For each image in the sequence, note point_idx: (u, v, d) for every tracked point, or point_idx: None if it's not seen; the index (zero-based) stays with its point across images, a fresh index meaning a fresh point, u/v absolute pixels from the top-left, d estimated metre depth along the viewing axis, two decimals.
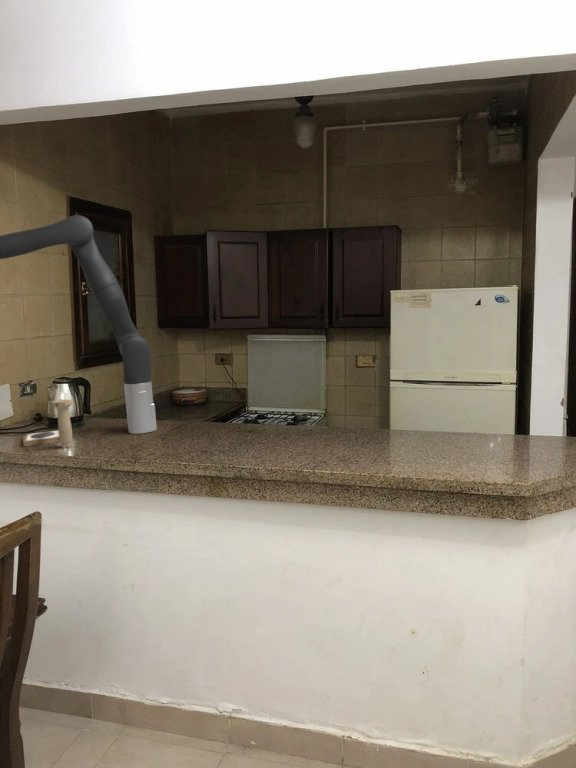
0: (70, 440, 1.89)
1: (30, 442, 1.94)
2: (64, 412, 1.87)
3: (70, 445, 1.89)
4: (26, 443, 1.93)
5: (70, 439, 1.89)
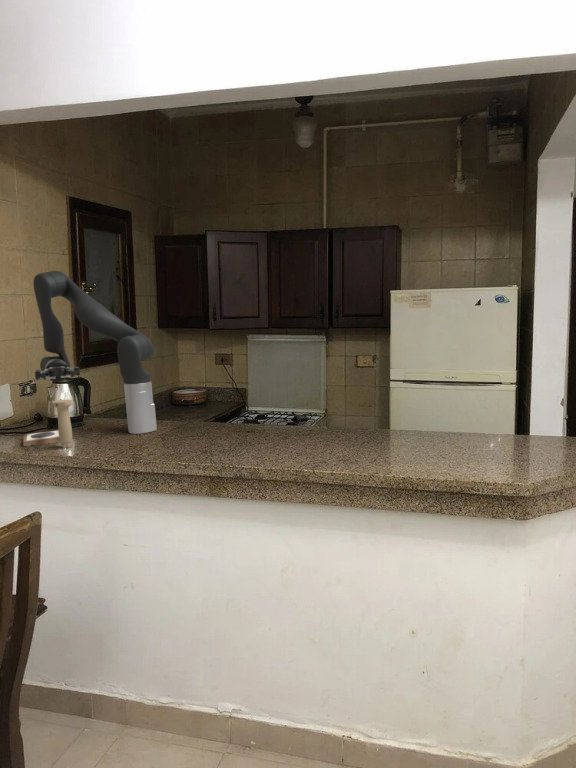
0: (70, 440, 1.89)
1: (30, 442, 1.94)
2: (64, 412, 1.87)
3: (70, 445, 1.89)
4: (26, 443, 1.93)
5: (70, 439, 1.89)
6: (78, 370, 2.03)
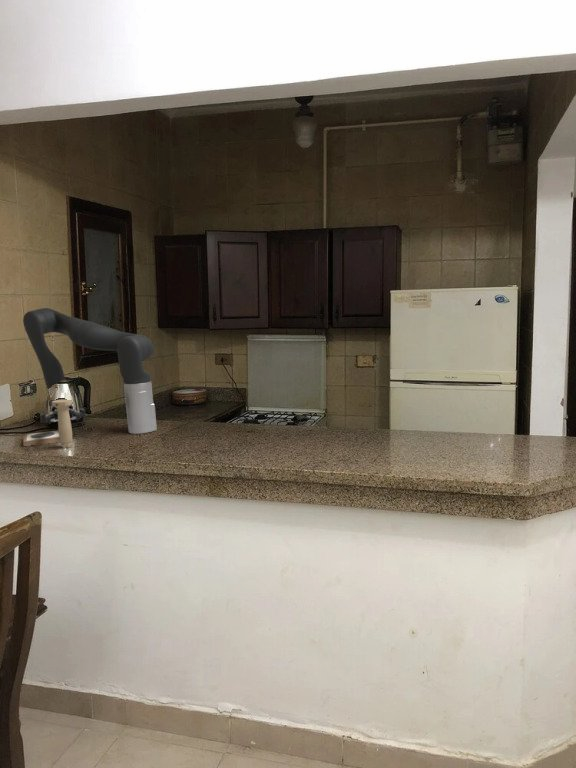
0: (70, 440, 1.89)
1: (30, 442, 1.94)
2: (64, 412, 1.87)
3: (70, 445, 1.89)
4: (26, 443, 1.93)
5: (70, 439, 1.89)
6: (83, 412, 2.01)
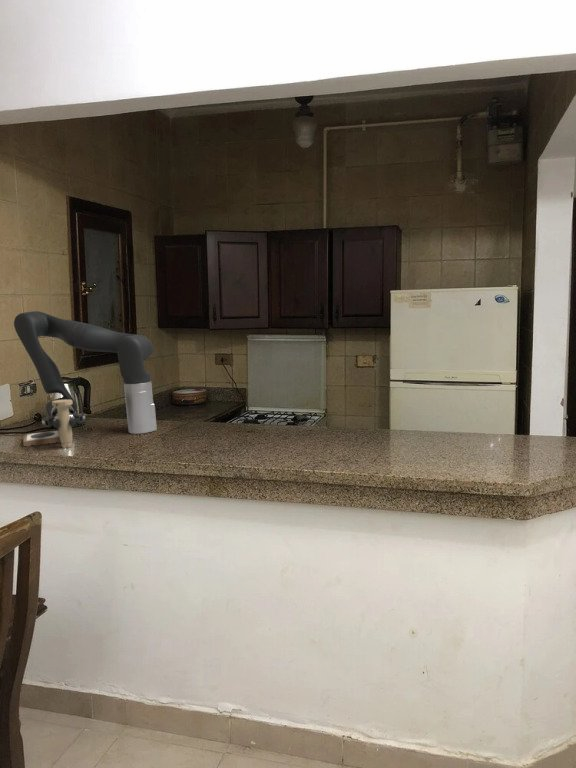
0: (70, 440, 1.89)
1: (30, 442, 1.94)
2: (64, 412, 1.87)
3: (70, 445, 1.89)
4: (26, 443, 1.93)
5: (70, 439, 1.89)
6: (77, 418, 1.91)
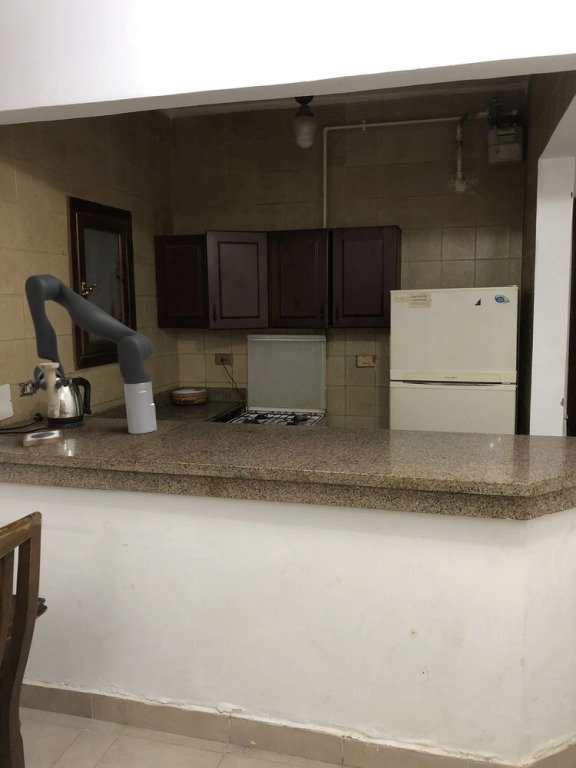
0: (57, 403, 1.91)
1: (30, 442, 1.94)
2: (51, 374, 1.89)
3: (57, 408, 1.91)
4: (26, 443, 1.93)
5: (57, 402, 1.91)
6: (64, 381, 1.94)
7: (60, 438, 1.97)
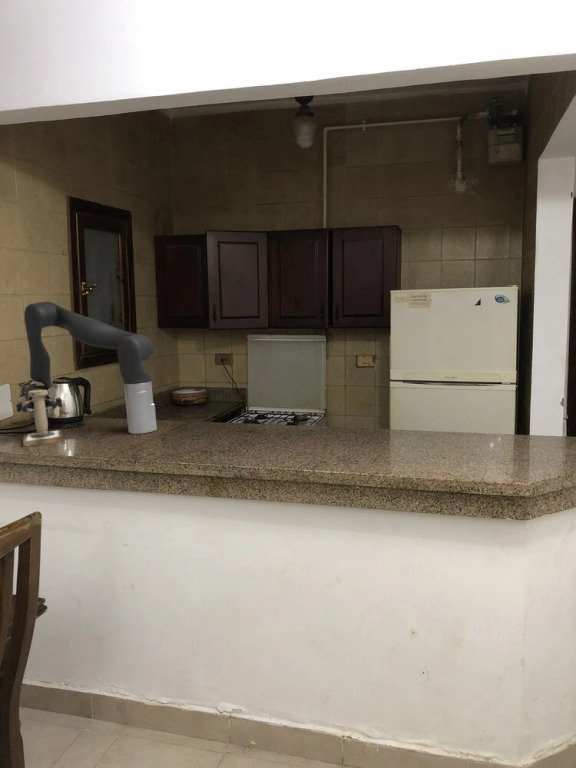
0: (45, 428, 2.00)
1: (30, 442, 1.94)
2: (40, 401, 1.98)
3: (45, 433, 2.00)
4: (26, 443, 1.93)
5: (45, 427, 2.00)
6: (60, 402, 2.04)
7: (60, 438, 1.97)
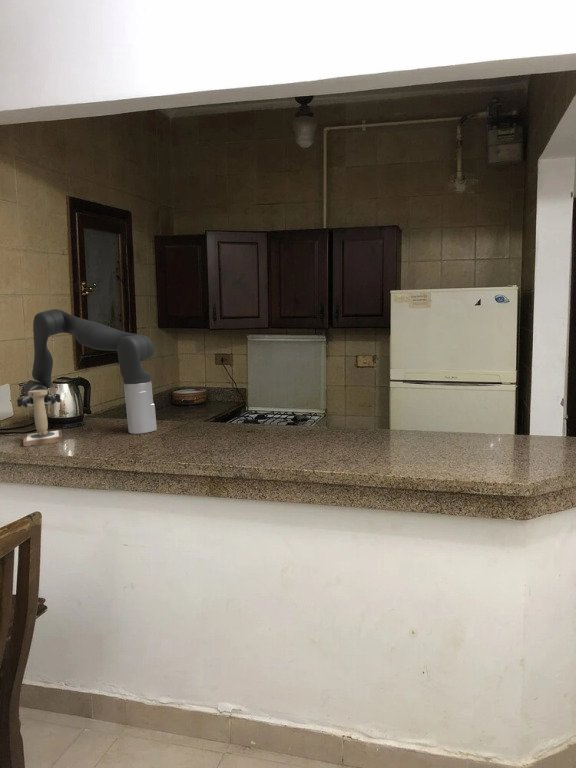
0: (45, 428, 2.00)
1: (30, 442, 1.94)
2: (39, 401, 1.98)
3: (45, 433, 2.00)
4: (26, 443, 1.93)
5: (45, 427, 2.00)
6: (58, 397, 2.13)
7: (60, 438, 1.97)
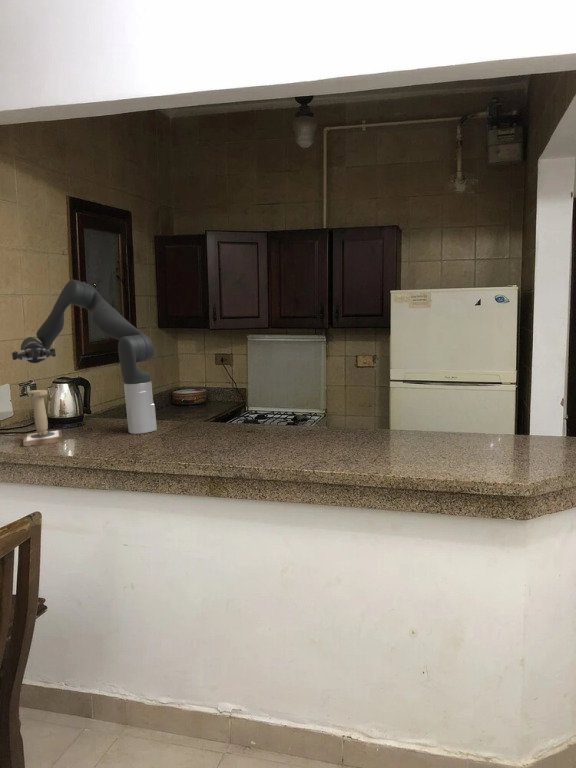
0: (45, 428, 2.00)
1: (30, 442, 1.94)
2: (39, 401, 1.98)
3: (45, 433, 2.00)
4: (26, 443, 1.93)
5: (45, 427, 2.00)
6: (53, 351, 2.13)
7: (60, 438, 1.97)
